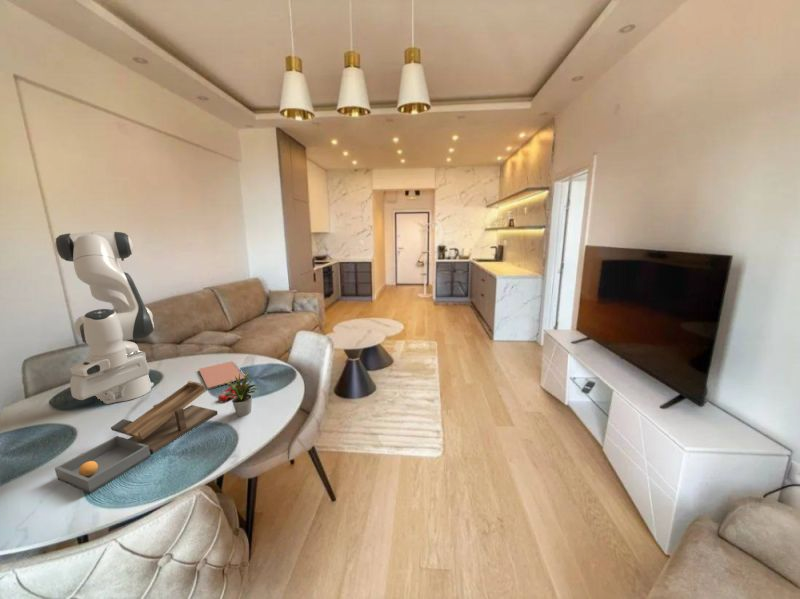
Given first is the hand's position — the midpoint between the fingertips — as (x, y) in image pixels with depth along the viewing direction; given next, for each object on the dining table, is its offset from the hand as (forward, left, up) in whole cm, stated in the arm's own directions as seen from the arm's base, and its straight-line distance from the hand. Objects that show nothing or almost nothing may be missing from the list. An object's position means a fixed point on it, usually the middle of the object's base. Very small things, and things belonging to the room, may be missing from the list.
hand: (117, 398), depth 106 cm
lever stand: (+8, +10, -16) cm, 21 cm away
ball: (+8, -14, -14) cm, 21 cm away
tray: (+8, -10, -16) cm, 21 cm away
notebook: (-14, +51, -17) cm, 55 cm away
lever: (+5, +10, -10) cm, 15 cm away
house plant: (+24, +26, -17) cm, 39 cm away
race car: (+9, +37, -17) cm, 41 cm away
